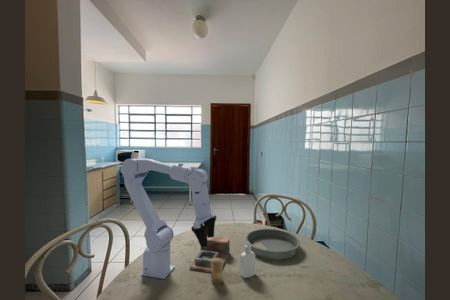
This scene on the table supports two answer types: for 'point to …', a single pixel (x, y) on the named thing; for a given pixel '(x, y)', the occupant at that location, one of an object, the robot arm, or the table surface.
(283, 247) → the cake pan
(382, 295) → the table surface
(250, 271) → the eye dropper bottle
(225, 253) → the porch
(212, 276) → the peg
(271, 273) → the table surface
